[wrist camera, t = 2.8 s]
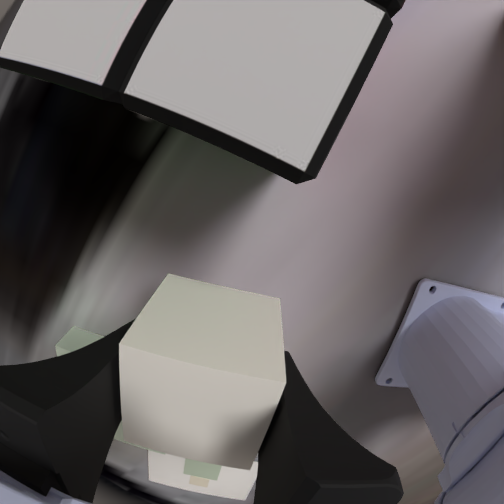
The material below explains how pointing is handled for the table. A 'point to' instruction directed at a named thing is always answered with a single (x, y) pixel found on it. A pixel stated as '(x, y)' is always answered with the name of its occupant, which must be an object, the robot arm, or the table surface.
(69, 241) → the table surface
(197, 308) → the cream brick
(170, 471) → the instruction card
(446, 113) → the table surface
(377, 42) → the puzzle cube
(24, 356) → the table surface
